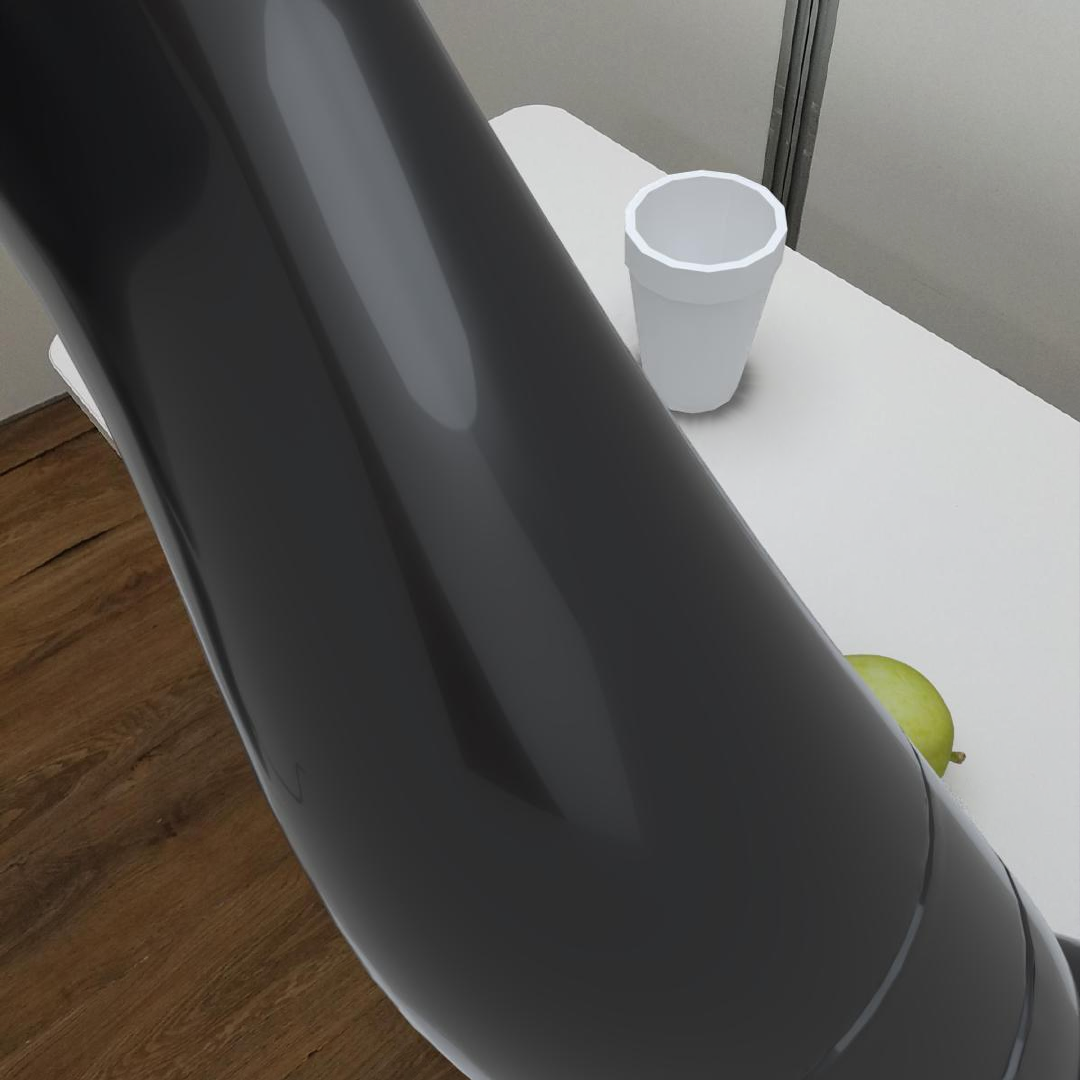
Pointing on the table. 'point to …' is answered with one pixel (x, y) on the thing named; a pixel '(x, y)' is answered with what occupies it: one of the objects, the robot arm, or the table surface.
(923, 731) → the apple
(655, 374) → the foam cup
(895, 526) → the table surface
